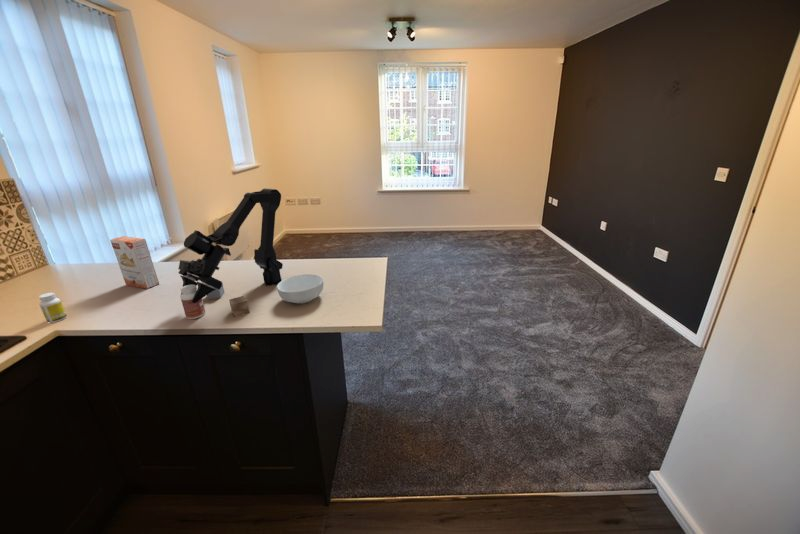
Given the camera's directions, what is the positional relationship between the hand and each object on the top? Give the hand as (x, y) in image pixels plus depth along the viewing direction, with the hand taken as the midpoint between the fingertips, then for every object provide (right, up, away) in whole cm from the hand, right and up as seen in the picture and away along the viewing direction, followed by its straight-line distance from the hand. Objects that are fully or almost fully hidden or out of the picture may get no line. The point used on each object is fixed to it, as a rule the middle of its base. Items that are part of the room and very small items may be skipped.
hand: (187, 300), depth 123 cm
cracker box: (-38, +4, +31) cm, 50 cm away
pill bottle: (+1, -6, +4) cm, 7 cm away
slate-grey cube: (+1, 0, +18) cm, 18 cm away
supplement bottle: (-49, -7, +4) cm, 50 cm away
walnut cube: (+16, -5, +5) cm, 18 cm away
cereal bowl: (+36, -1, +13) cm, 39 cm away
